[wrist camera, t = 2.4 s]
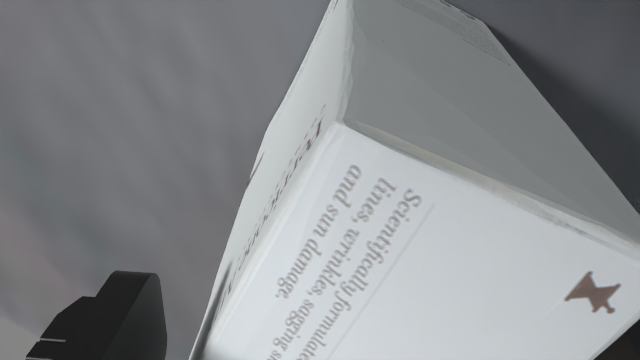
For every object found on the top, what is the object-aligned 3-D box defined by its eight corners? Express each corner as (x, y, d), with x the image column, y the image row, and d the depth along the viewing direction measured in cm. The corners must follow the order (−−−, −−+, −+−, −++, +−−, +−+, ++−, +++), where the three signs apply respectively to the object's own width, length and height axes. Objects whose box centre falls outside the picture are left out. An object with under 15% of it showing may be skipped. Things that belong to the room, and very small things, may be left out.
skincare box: (350, -51, 19) (324, 67, 6) (494, 25, 20) (733, 267, 7) (261, 140, 23) (129, 462, 10) (385, 197, 24) (412, 561, 11)
